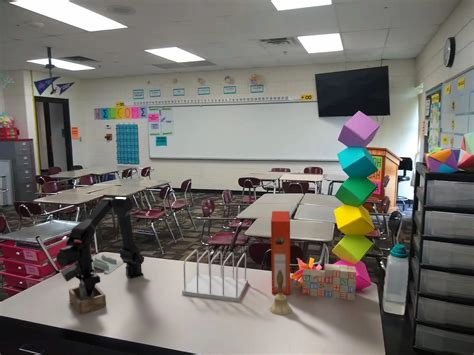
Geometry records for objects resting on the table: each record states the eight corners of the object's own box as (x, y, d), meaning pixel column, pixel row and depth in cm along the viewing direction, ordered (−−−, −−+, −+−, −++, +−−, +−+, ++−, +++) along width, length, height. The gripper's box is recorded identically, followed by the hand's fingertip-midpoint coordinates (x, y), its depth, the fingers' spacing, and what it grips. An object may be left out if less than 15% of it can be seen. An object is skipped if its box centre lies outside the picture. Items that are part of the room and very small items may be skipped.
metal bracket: (86, 261, 171) (103, 251, 185) (84, 272, 172) (101, 260, 186) (111, 271, 168) (127, 259, 183) (109, 282, 170) (125, 269, 184)
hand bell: (277, 317, 128) (277, 276, 126) (265, 307, 136) (265, 268, 133) (295, 311, 132) (296, 272, 130) (283, 302, 139) (283, 264, 137)
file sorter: (181, 295, 147) (180, 260, 144) (196, 278, 163) (195, 246, 161) (238, 302, 140) (238, 265, 138) (248, 283, 157) (247, 250, 155)
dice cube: (80, 300, 137) (79, 288, 136) (80, 294, 142) (79, 283, 141) (93, 297, 139) (92, 286, 138) (93, 292, 144) (92, 281, 143)
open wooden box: (94, 293, 150) (93, 282, 149) (106, 306, 138) (105, 294, 137) (69, 300, 143) (68, 289, 143) (79, 315, 132) (78, 303, 131)
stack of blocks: (302, 295, 145) (302, 267, 143) (303, 288, 151) (303, 261, 149) (355, 300, 140) (356, 271, 138) (354, 293, 146) (355, 265, 144)
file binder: (271, 294, 146) (271, 221, 141) (272, 276, 163) (272, 211, 158) (290, 295, 145) (290, 221, 140) (289, 277, 162) (289, 211, 157)
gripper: (56, 255, 140) (59, 291, 142) (68, 270, 126) (72, 309, 128) (84, 249, 147) (88, 283, 149) (99, 262, 133) (102, 299, 135)
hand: (87, 293), depth 140 cm, fingers closed on dice cube, 5 cm apart
